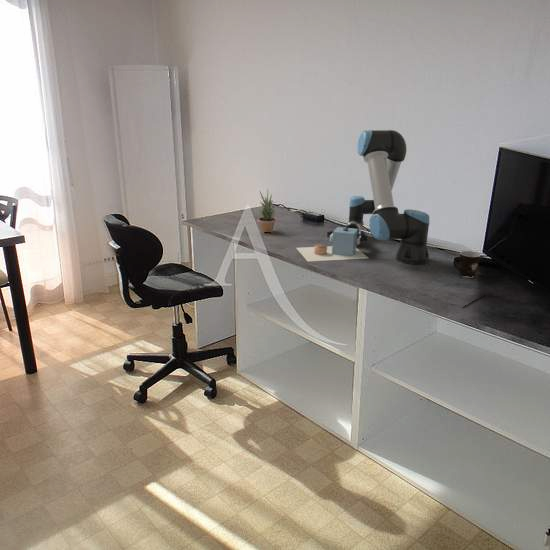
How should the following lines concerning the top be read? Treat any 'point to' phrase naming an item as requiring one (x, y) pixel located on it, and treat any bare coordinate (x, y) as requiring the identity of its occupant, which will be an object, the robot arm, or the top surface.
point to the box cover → (344, 241)
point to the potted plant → (267, 215)
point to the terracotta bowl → (320, 250)
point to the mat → (328, 254)
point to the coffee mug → (468, 263)
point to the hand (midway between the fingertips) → (344, 240)
